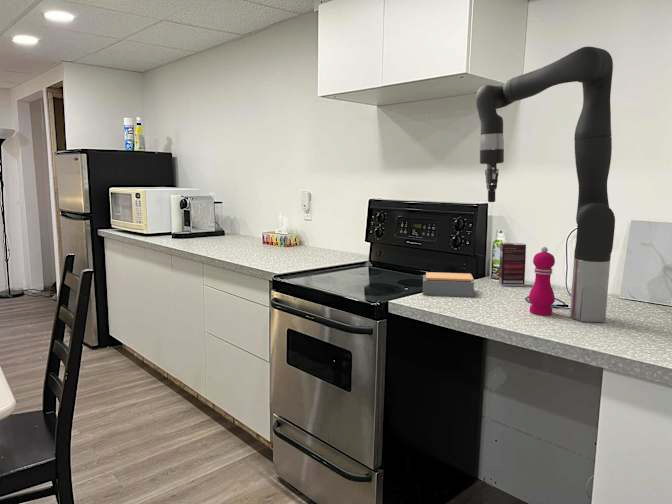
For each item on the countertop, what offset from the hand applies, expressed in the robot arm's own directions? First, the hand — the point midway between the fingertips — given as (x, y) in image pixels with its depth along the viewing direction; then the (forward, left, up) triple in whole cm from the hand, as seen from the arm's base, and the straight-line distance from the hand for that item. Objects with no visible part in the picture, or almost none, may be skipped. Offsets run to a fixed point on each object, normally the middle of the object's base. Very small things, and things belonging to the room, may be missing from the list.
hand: (491, 201), depth 167 cm
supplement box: (+22, -11, -33) cm, 41 cm away
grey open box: (+5, +13, -32) cm, 35 cm away
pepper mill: (-18, -13, -33) cm, 40 cm away
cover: (+6, +13, -27) cm, 30 cm away
